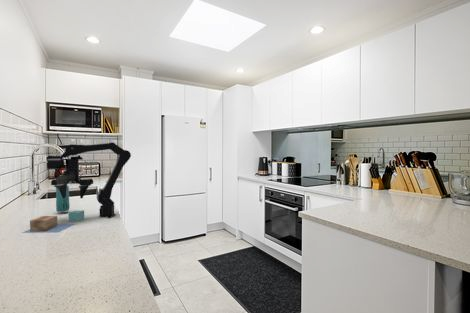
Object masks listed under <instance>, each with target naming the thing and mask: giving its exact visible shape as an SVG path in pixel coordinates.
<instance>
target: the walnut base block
mask: <svg viewBox="0 0 470 313" xmlns="http://www.w3.org/2000/svg"><path fill="white" fill-rule="evenodd" d="M57 224H58V216H57V215H42V216H39V217H37V218H33V219H30V220H29V230H30V231H48V230H50V229H52V228H55V227H57Z"/></svg>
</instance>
